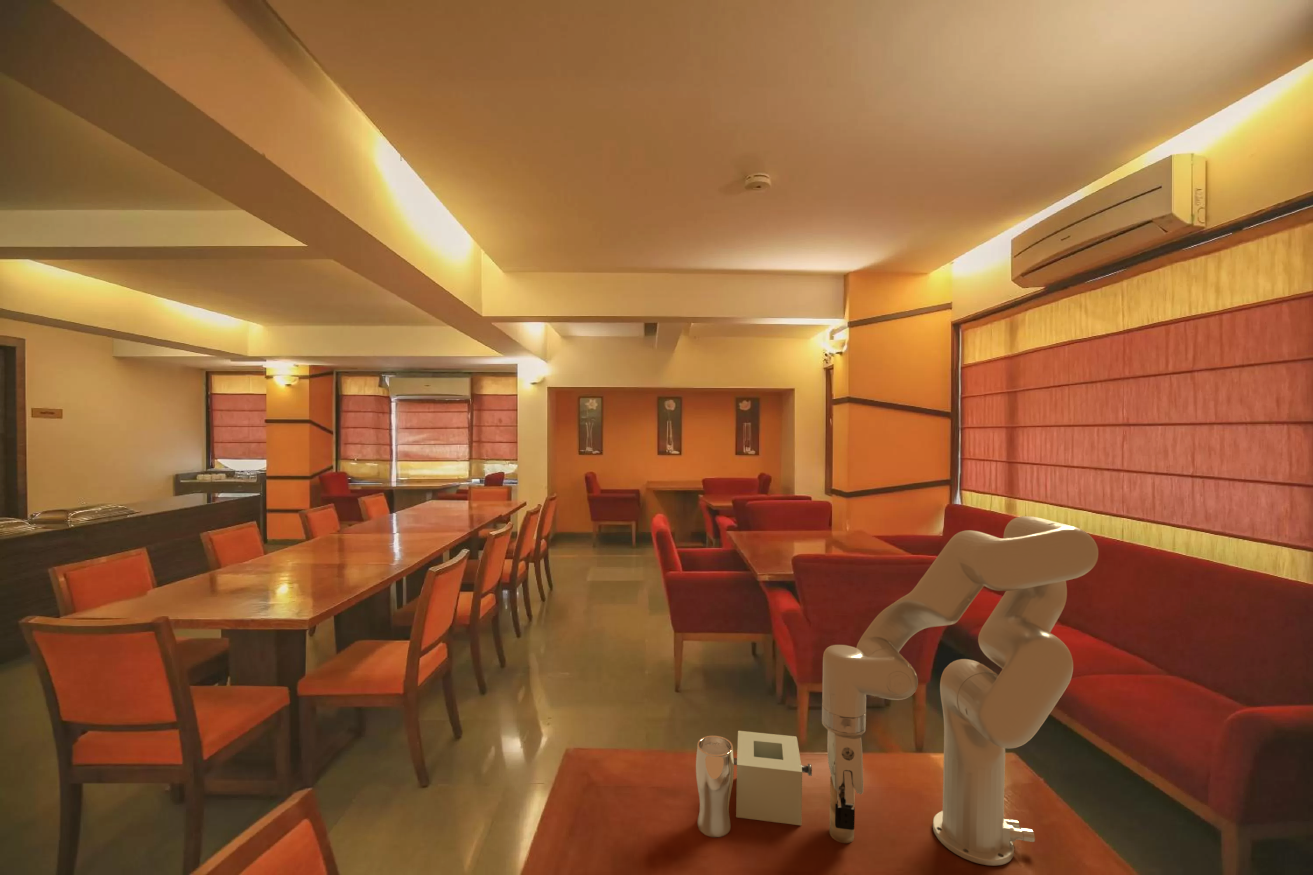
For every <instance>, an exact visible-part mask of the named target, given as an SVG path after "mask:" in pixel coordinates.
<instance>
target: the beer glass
mask: <svg viewBox="0 0 1313 875" xmlns="http://www.w3.org/2000/svg"><path fill="white" fill-rule="evenodd" d="M696 745H697V746H696V748H697V749H696V756H695V757H696V758H695V776H696V778H695V779H696V784H697V791H698V798H699V813H698V816H697V823H696V824H697V827H698V830H699V831H700V832H701V833H702V834H704V835H705V836H707V837H710V838H722V837H724V836H727V835H728V833H729V832H730V831H731V819H730V813H729V811H730V810H729V806H730V799H731V795H732V794H731V793H732V790H733V789H732V788H733V784H734V783H733V782H734V773H735V772H734V769H735V765H734V759H733V758H734V746H733V745H734V744H733V743H732V742H731V741H730V740H729V739H728V738H727V737H724V736H720V735H707V736H703V737H701V738H700V739H699V740H698V741H697V744H696Z"/></svg>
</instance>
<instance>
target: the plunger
mask: <svg viewBox="0 0 1313 875" xmlns="http://www.w3.org/2000/svg"><path fill="white" fill-rule="evenodd" d="M801 767H802V774H803V773H804V774H807V776H810V777H811V776H812V774H813V773H812V772H813V767H812V763H807V765H802V764H801Z"/></svg>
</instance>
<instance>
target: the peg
mask: <svg viewBox="0 0 1313 875" xmlns="http://www.w3.org/2000/svg"><path fill="white" fill-rule="evenodd" d="M829 778H830V785H829V787H830V788H829V790H830V791H829V835H830V837H831V838H832V839H834V840H835V841H836V842H838V843H841V844H850V843H852V842H853V841H854V840H855V829H854V830H848V829H840V828H836V826H835V804H837V790H836V789H835V788H834V785H833V781H832V777H831V776H830V777H829ZM841 787H844V784H841ZM844 796H845V793H843V792H841V798H842V797H844ZM855 796H856V790H855V787H854V807H856V806H855V802H856V801H855V798H856V797H855Z"/></svg>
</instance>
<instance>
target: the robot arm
mask: <svg viewBox="0 0 1313 875" xmlns="http://www.w3.org/2000/svg"><path fill="white" fill-rule="evenodd" d="M1098 560H1099V547H1098V544H1097V543H1096V541H1095V539H1094V538H1093V537H1092V536H1091V535H1090V534H1089V533H1088V532H1087V531H1086V530H1083V529H1081V528H1080V527H1076V526H1073V525H1069V524H1067V523H1066V524H1065V523H1062V522H1059V521H1058V522H1057V521H1054V520H1050V519H1045V518H1043V517H1042V518H1041V517H1037V516H1032V515H1031V516H1029V515H1028V516H1027V515H1026V516H1025V515H1024V516H1023V515H1022V516H1017V517H1015V518H1012V519H1011V520H1010V521H1008V523H1007V525H1006V526H1005V528H1004V532H1003V538H1000V537H999V536H998V537H997V536H995V535H991V534H988V533H985V532H982V531H978V530H973V529H972V530H968V529H967V530H962V531H959V532H957V533H956V534H954V535H953V536H952V537H951V538H950V539H949V541H948V542H947V543H946V544H945V545H944V547H943V548H942V549H941V551H940V552H939V554H938V555H937V557H936V558H935V560H934V561H933V562H932V564H931V565H930V566H929V568H927V571H926V572H925V573H924V574H923V575H922V577H921V578H920V580H919V581H918V582H917V584H916V585H915V586H914V588H913V589H912V590H911V591H910V592H909V593H907V594H905V595H904V596H901V597H900V598H898V600H895V602H892V603H891V604H890V605H888V606H886V607H885V608H884V609H883V610H882V611H880V612H879V613H878V614H877V615H876V617H875V618H874V619H873V620H872V622H871V623H870V624H869V625H868V627H867V628H866V629H865V631H864V632H863V634H862V635H861V637H860V639H859V641H858V642H857V644H856V647H855V646H851V645H847V644H831V645H830V646H828V647H826V648H825V650H824V651H823V656H822V698H821V724H822V726H823V727H824V728H825V729H826V730H827V738H826V739H827V740H826V742H827V746H826V747H827V763H828V768H829V772H830V777H832V781H833V785H834V788H835V789H836V790H837V804H835V826H836V828H840V829H848V830H854V831H855V820H856V819H855V817H856V816H855V815H856V814H855V811H856V808H855V807H856V806H854V787H855V793H856V794H859V795H862V794H864V762H863V760H864V759H863V758H864V757H863V746H862V735H863V734H864V733H866V731H867V730H866V725H867V721H866V720H867V696H873V697H876V698H881V699H887V700H892V701H900V700H905V699H906V700H907V699H908V698H910V697H911V696H913V695H914V693H916V691H917V689H918V685H919V680H918V675H917V672H916V670H915V668H914V667H913V666H912V664H911V663H910V662H909V661H908V660H907V659H906V658H905V657H904V656H903V655H902V654H901V653H900V651H901V650H902V648H903V647H904V646H905V645H906V644H907V642H908V641H909V640H910V639H911V638H912V637H913V636H915V634H917V633H918V632H920V631H924V629H928V628H935V627H943V626H951V625H955V624H956V623H958V622H959V620H960V619H961V618H962V616H963V615H964V613H966V611H967V609H968V608H969V606H970V605H971V604H972V603H973V601H974V600H975V598H977V596H978V594H980V592H981V591H982V589H983V588H984V587H986V588H987V589H989V590H993V591H999V592H1001V591H1002V592H1003V591H1004V594H1003V596H1001V597H1000V599H999V601H998V603H997V604H996V606H995V607H994V609H993V610H992V612H991V613H990V615H989V617H987V619H986V621H985V622H984V624H983V625H982V627H981V629H980V631H979V633H978V637H977V638H978V639H977V643H978V646H979V648H980V650H981V651H982V653H983V654H984V656H986V657H987V659H989V660H990V661H991V662H992V663H994V664H995V665H996V666H998V667H1000V668H1001V671H1000V673H999V674H997V673H996V672H995V671H993V670H992V669H991V668H989V667H988V666H986V665H985V664H984V663H980V662H979V661H976V660H973V659H968V658H960V659H956V660H953V661H952V662H950V663H949V664H948V665H947V666H946V667H945V668H944V669H943V671H942V674H941V677H940V682H939V692H940V701H941V706H942V707H941V708H942V716H943V779H942V780H943V782H942V810H941V811H939V812H937V813H935V815H934V816H933V818H932V819H933V820H932V828H933V829H932V830H933V833H934V835H935V837H936V838H937V839H938V841H939V842H940V843H941V844H942V845H943V846H944V847H945V848H946V849H948V850H949V851H951V853H953V854H954V855H957V856H959V857H960V858H962V859H965V860H966V861H968V862H972V863H975V864H978V865H979V864H980V865H985V866H990V867H991V866H994V867H995V866H1002V865H1005V864H1008V863H1009V862H1011V861H1012V859H1013V858H1014V855H1015V854H1014V852H1015V851H1014V850H1015V849H1014V843H1015V842H1016V840H1018V841H1019V840H1020V841H1023V842H1031V843H1034V842H1035V841H1036V837H1035V833H1034V831H1033V829H1031V828H1028V827H1020V822H1019V821H1018V820H1017V819H1012V818H1009V819H1008V818H1004V817H1005V814H1004V813H1005V781H1006V780H1005V776H1006V775H1005V774H1006V773H1005V772H1006V771H1005V770H1006V749H1016V748H1019V747H1021V746H1024V745H1025V744H1027V743H1028V742H1029V741H1031V739H1032V738H1033V737H1034V736H1035V735H1036V734H1037V733H1038V731H1039V730H1040V728H1042V726H1043V724H1044V723H1045V721H1046V720H1047V719H1048V717H1049V715H1050V714H1051V712H1052V711H1053V710H1054V708H1055V706H1056V705H1057V704H1058V702H1059V700H1060V698H1062V696H1063V694H1065V692H1066V689H1067V688H1068V686H1069V685H1070V683H1071V680H1072V677H1073V672H1074V660H1073V656H1072V653H1071V651H1070V649H1069V647H1068V646H1067V645H1066V644H1065V643H1064V641H1062V640H1061V639H1060V638H1059V637H1057V636H1056V635H1054V634H1053V633H1051V632H1052V630H1053V628H1054V627H1055V624H1056V623H1057V622H1058V619H1059V618H1060V616H1061V615H1062V612H1063V610H1064V609H1065V606H1066V602H1067V598H1068V588H1067V581H1069V580H1073V579H1074V580H1075V579H1078V578H1080V577H1082V576H1085V575H1086V574H1088V573H1089V572H1090V571H1091V570H1092V569H1094V567H1095V566H1096V565H1097V562H1098ZM841 784H844V787H841ZM841 792H843V793H845V796H844V797H842V798H841Z"/></svg>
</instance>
